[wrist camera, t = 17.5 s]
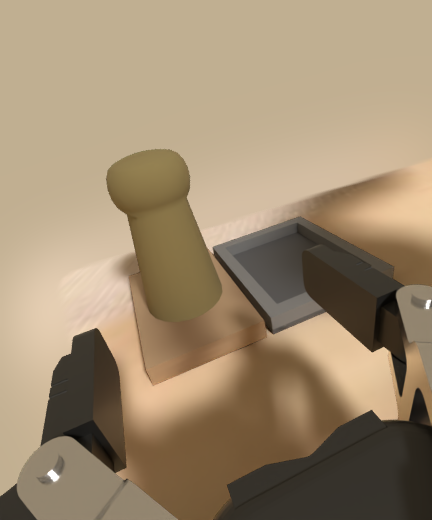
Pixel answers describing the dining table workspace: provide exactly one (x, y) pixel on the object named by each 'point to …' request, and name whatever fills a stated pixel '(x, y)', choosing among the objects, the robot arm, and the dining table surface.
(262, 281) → the shallow grey tray
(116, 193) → the cork
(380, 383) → the dining table surface
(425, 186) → the dining table surface
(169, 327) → the light brown wooden board
